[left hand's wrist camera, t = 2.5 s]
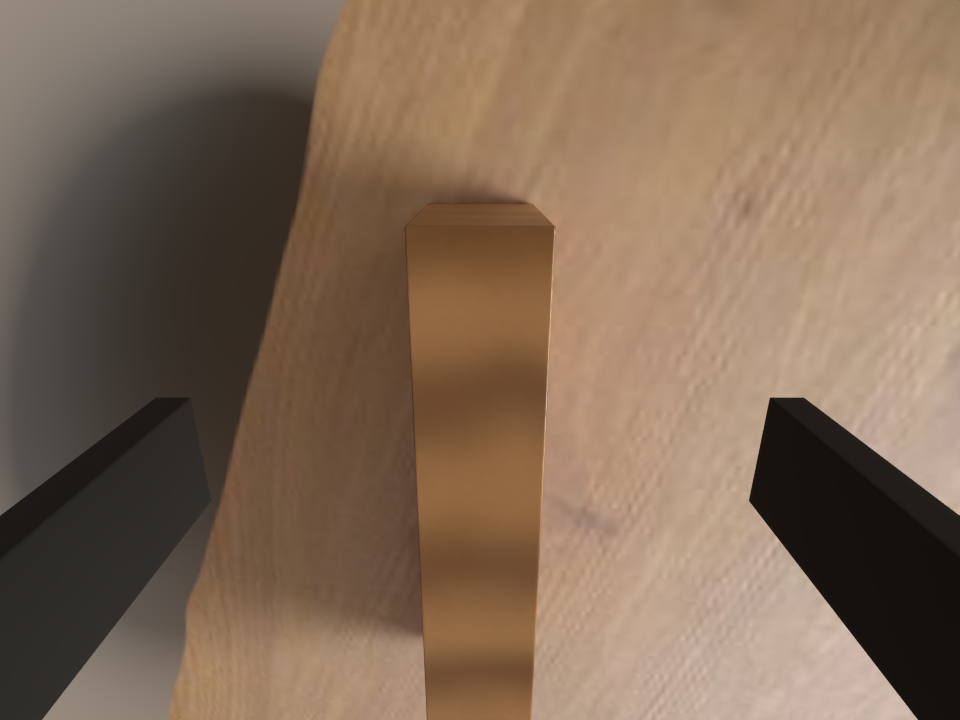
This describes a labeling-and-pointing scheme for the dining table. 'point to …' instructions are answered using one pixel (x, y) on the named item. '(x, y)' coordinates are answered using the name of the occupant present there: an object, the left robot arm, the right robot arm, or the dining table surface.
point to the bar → (479, 447)
